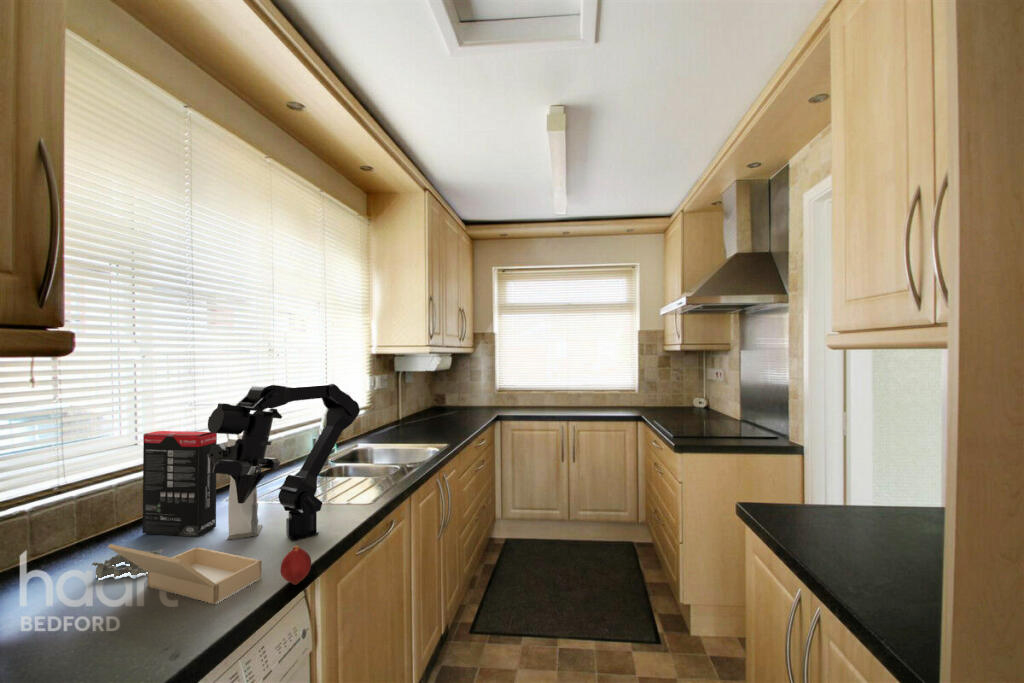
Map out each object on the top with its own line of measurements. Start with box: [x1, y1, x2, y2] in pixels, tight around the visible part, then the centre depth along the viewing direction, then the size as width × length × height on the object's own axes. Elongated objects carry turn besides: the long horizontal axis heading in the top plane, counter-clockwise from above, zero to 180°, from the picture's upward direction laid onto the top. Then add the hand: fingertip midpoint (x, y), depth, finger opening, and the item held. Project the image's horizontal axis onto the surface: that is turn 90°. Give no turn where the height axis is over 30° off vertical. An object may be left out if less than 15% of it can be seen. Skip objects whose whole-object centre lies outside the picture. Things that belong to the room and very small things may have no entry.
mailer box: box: [147, 546, 262, 605], centre depth 92 cm, size 10×20×4 cm, turn 70°
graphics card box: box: [141, 430, 218, 538], centre depth 118 cm, size 17×7×27 cm, turn 84°
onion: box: [280, 545, 312, 585], centre depth 91 cm, size 6×6×8 cm
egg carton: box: [91, 548, 164, 578], centre depth 97 cm, size 11×8×4 cm
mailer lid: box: [107, 543, 216, 587], centre depth 84 cm, size 10×20×1 cm
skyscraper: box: [226, 433, 263, 541], centre depth 118 cm, size 8×8×28 cm
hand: (240, 503), depth 102 cm, fingers closed
